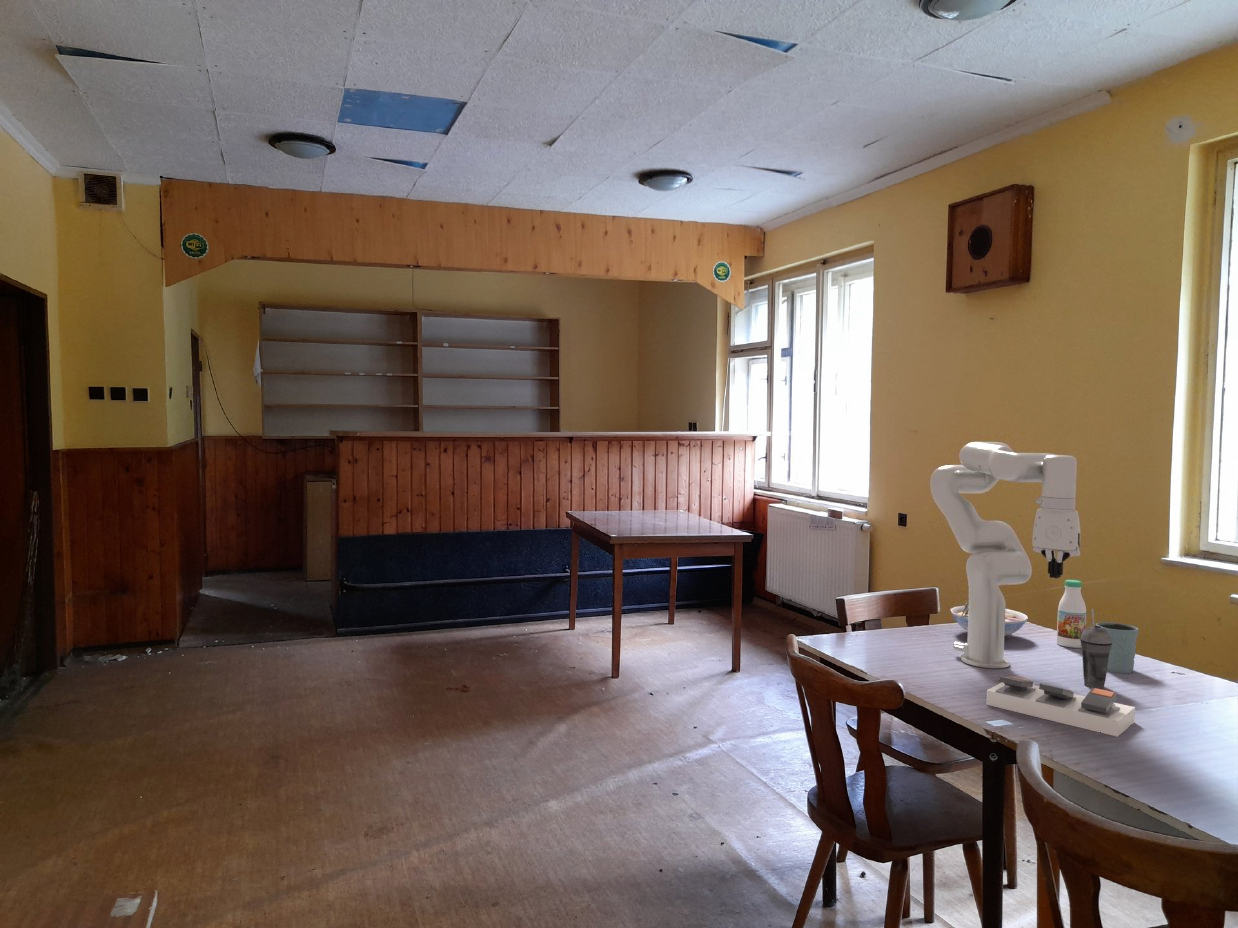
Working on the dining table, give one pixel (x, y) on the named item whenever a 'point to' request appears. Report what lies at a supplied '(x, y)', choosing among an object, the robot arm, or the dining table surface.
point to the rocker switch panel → (1061, 709)
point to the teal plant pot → (1121, 646)
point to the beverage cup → (1095, 654)
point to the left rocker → (1016, 682)
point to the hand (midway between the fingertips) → (1055, 577)
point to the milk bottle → (1071, 615)
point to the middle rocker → (1056, 691)
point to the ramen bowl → (1012, 618)
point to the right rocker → (1099, 700)
